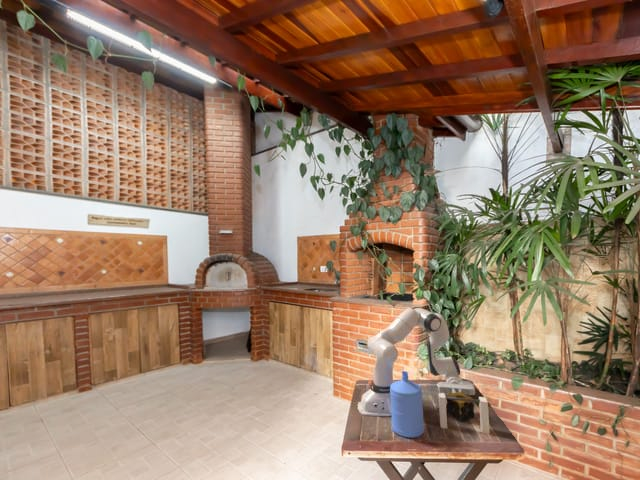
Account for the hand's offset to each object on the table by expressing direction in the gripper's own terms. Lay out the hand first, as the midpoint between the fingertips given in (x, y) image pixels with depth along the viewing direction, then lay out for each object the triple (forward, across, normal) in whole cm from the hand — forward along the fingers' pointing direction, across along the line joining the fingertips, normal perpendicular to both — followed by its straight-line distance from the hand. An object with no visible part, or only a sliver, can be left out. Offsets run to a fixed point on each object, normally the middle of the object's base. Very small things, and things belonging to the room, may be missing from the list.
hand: (457, 394), depth 172 cm
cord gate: (+22, 0, +6) cm, 23 cm away
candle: (+10, 0, +7) cm, 12 cm away
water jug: (+30, -27, +6) cm, 41 cm away
